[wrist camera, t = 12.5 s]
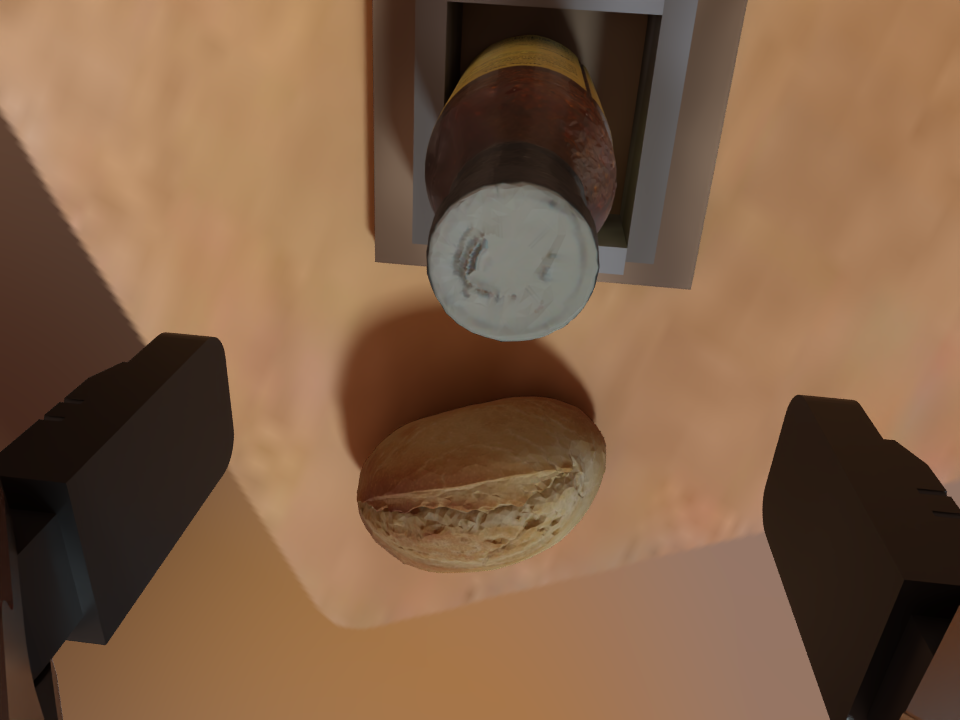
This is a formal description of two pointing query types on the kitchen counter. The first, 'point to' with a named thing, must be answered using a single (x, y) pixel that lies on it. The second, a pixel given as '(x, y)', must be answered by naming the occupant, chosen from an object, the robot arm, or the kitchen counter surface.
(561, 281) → the sauce bottle
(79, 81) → the kitchen counter surface
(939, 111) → the kitchen counter surface
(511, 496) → the bread roll
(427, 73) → the grey open box
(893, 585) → the robot arm
